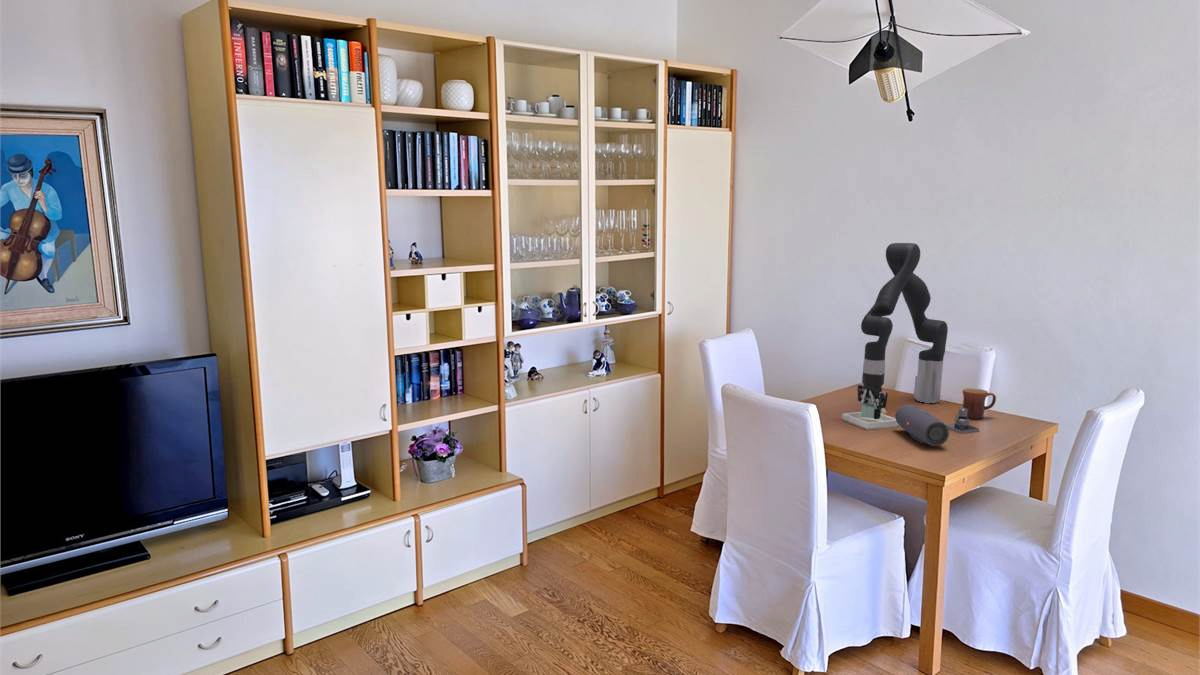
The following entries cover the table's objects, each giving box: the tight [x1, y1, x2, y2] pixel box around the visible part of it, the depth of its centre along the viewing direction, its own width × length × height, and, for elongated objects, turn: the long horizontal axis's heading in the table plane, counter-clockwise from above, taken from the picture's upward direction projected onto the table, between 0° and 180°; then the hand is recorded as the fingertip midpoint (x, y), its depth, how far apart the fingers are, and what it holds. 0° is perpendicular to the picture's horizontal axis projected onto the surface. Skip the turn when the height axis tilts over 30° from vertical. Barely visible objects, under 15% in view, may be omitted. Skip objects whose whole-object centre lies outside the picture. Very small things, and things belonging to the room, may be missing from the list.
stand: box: [945, 407, 980, 434], centre depth 294 cm, size 8×8×8 cm
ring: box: [860, 402, 882, 418], centre depth 301 cm, size 6×7×4 cm
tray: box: [841, 411, 900, 431], centre depth 301 cm, size 14×14×2 cm
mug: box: [962, 387, 997, 420], centre depth 310 cm, size 12×9×10 cm
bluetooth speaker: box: [894, 404, 950, 447], centre depth 281 cm, size 23×9×10 cm, turn 4°
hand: (870, 416), depth 301 cm, fingers closed on ring, 6 cm apart
